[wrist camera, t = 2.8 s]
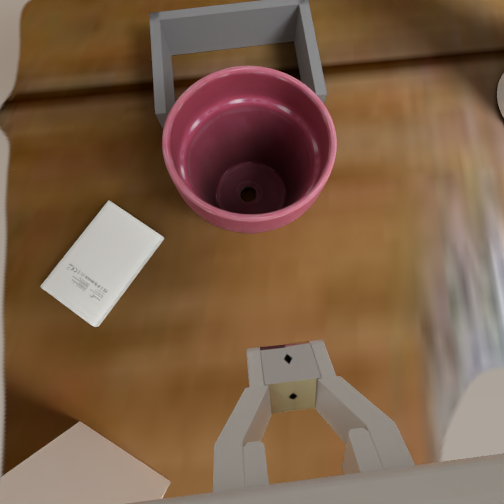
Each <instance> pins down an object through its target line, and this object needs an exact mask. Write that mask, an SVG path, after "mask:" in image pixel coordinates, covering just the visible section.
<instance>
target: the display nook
mask: <svg viewBox="0 0 504 504" xmlns="http://www.w3.org/2000/svg"><path fill="white" fill-rule="evenodd" d="M149 18H150V35H151V52H152V68H153V85H154V102H155V115H156V117H157V119H158V121H159V123H160V125H161V126H162V128H163V130H164V125H165V122H166V119H167V116H168V114H169V112H170V110H171V108H172V107H173V105H174V104H175V97H174V84H173V71H172V57H171V55H179V54H188V53H197V52H206V51H214V50H223V49H232V48H241V47H249V46H258V45H267V44H276V43H284V42H293V41H294V44H295V50H296V55H297V61H298V66H299V72H300V78H301V82H302V83H303V84H305V85H306V86H307V87H309V88H310V89H311V90H312V91H313V92H314V93H315V94H316V95H317V96H318V97H319V99H320V100H321V101H322V102H323V104H324V102H325V99H326V95H327V92H326V87H325V82H324V77H323V72H322V67H321V62H320V57H319V52H318V47H317V42H316V36H315V31H314V26H313V21H312V16H311V11H310V6H309V1H308V0H261V1H252V2H243V3H234V4H225V5H217V6H208V7H199V8H190V9H181V10H172V11H164V12H155V13H149Z"/></svg>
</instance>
